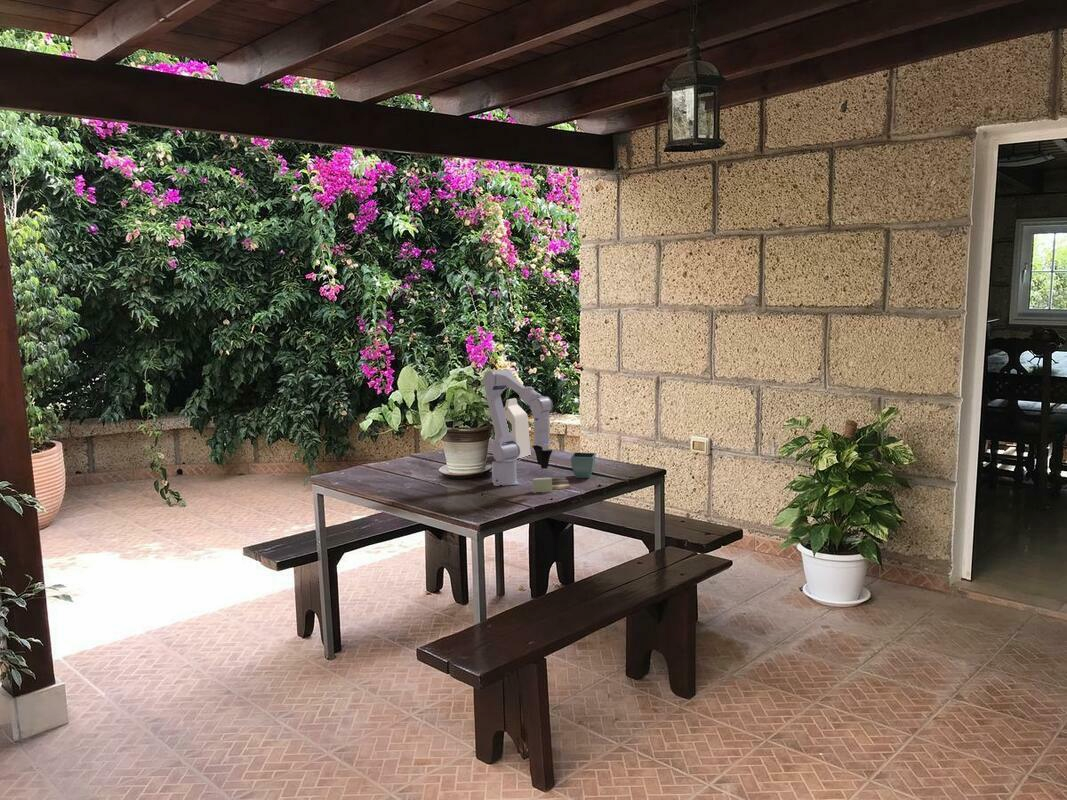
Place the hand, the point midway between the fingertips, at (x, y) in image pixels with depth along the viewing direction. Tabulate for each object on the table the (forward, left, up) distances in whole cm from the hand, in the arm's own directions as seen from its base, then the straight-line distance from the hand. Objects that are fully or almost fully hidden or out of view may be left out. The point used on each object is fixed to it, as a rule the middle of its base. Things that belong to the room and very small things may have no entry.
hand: (542, 466), depth 319 cm
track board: (+6, +8, -9) cm, 14 cm away
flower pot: (+20, +20, -10) cm, 30 cm away
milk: (-2, +68, -10) cm, 69 cm away
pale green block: (0, 0, -10) cm, 10 cm away
